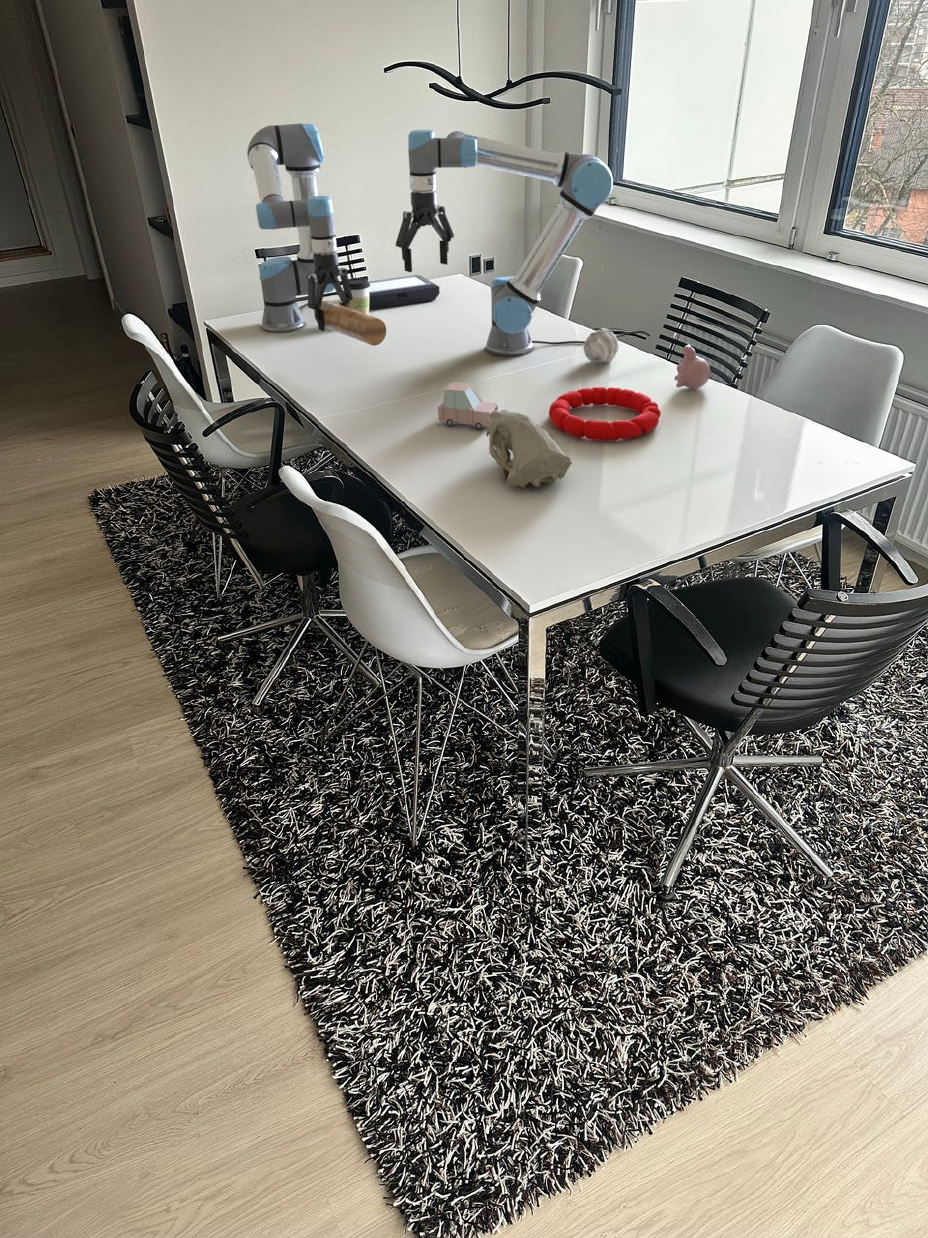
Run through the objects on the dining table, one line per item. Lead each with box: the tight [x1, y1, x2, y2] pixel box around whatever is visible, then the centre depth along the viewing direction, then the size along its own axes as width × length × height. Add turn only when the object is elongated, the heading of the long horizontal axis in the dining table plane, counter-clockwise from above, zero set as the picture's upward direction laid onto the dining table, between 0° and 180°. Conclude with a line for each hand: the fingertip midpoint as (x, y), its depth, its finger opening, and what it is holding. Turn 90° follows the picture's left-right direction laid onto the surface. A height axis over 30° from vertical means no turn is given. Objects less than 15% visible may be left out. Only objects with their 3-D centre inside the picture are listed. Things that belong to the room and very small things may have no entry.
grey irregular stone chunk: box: [485, 409, 573, 489], centre depth 216 cm, size 17×25×20 cm
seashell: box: [582, 329, 620, 363], centre depth 282 cm, size 10×15×10 cm
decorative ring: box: [548, 386, 661, 442], centre depth 242 cm, size 7×30×30 cm
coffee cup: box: [348, 277, 370, 315], centre depth 323 cm, size 10×10×15 cm
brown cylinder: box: [315, 300, 387, 346], centre depth 277 cm, size 28×8×8 cm, turn 40°
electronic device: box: [368, 274, 440, 311], centre depth 349 cm, size 32×6×20 cm
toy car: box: [437, 382, 499, 431], centre depth 243 cm, size 9×15×10 cm, turn 70°
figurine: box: [674, 344, 711, 390], centre depth 259 cm, size 9×11×12 cm
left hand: (333, 326), depth 285 cm, fingers closed on brown cylinder, 8 cm apart
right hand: (426, 267), depth 270 cm, fingers open, 13 cm apart
